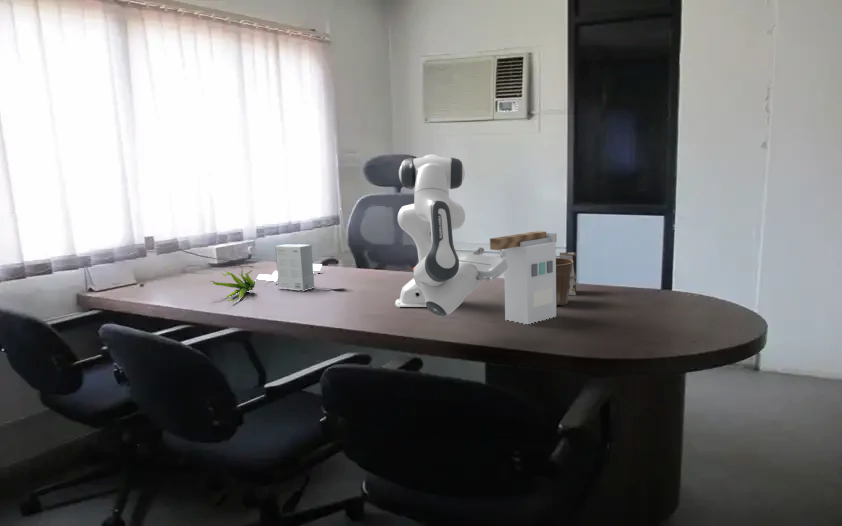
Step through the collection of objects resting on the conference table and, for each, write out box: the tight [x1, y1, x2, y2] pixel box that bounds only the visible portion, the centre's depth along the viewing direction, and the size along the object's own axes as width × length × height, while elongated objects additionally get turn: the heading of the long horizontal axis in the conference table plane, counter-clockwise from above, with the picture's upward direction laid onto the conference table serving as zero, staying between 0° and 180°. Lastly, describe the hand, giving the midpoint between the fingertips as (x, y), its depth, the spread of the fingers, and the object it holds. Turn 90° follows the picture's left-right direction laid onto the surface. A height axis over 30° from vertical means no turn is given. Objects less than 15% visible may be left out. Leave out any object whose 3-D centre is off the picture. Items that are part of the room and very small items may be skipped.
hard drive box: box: [274, 243, 315, 290], centre depth 298 cm, size 16×8×20 cm, turn 58°
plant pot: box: [556, 257, 574, 307], centre depth 251 cm, size 16×16×16 cm
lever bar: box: [489, 230, 547, 251], centre depth 222 cm, size 24×4×4 cm, turn 131°
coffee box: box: [559, 251, 577, 296], centre depth 267 cm, size 9×6×16 cm
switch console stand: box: [503, 232, 558, 325], centre depth 227 cm, size 16×10×29 cm
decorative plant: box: [210, 265, 256, 305], centre depth 280 cm, size 18×30×15 cm, turn 152°
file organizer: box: [256, 263, 323, 282], centre depth 329 cm, size 13×35×5 cm, turn 147°
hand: (492, 250), depth 214 cm, fingers open, 8 cm apart
